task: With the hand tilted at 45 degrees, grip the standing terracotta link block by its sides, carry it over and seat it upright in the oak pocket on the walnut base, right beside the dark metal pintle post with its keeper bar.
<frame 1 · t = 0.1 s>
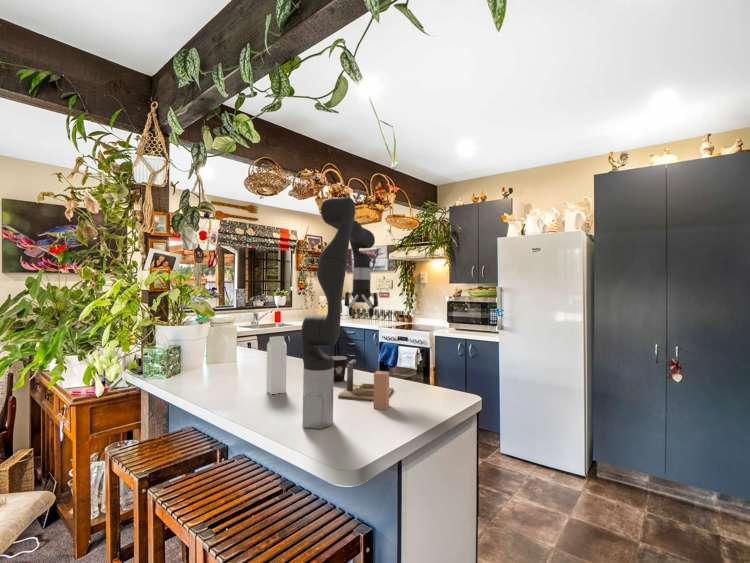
hand: (361, 316, 159), 29 cm above the countertop, tool pointing down, fingers open, 8 cm apart
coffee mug: (333, 380, 167), on the countertop
pintle seat: (366, 394, 146), on the countertop
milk: (276, 392, 148), on the countertop
link block: (381, 406, 132), on the countertop
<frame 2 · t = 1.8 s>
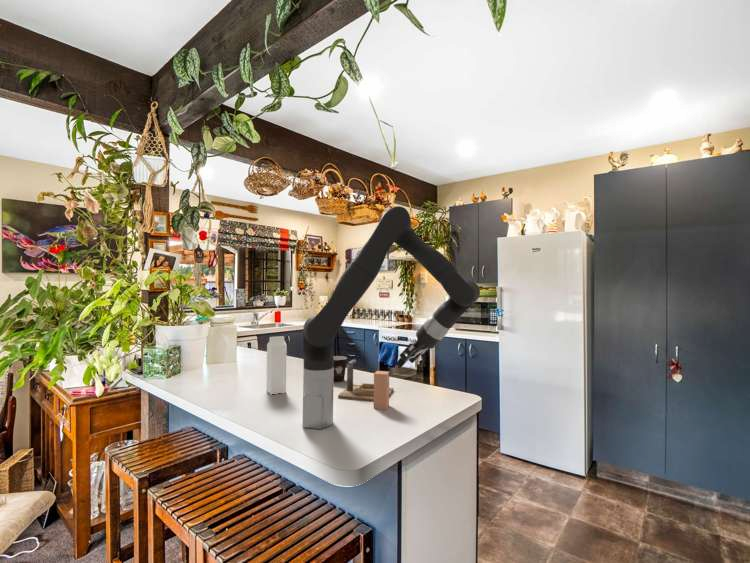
hand: (404, 363, 126), 16 cm above the countertop, tool tilted 40°, fingers open, 8 cm apart
nothing on the countertop moved.
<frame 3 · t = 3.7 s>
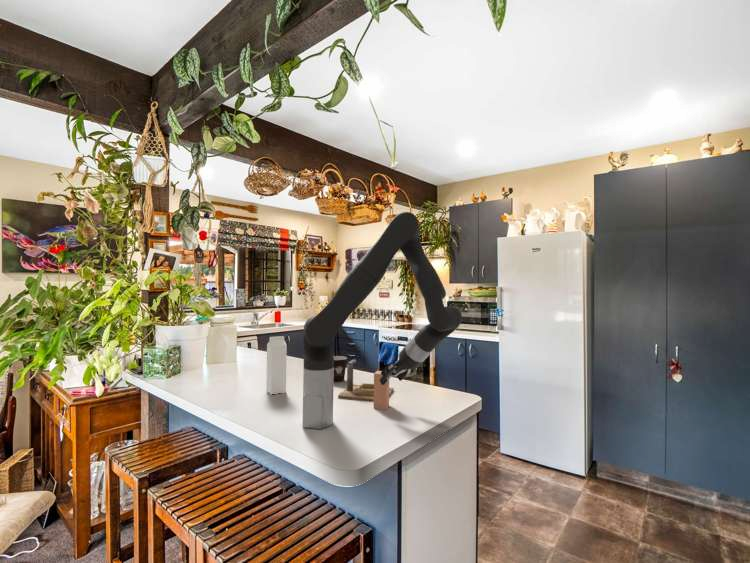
hand: (390, 380, 129), 10 cm above the countertop, tool tilted 45°, fingers open, 8 cm apart
nothing on the countertop moved.
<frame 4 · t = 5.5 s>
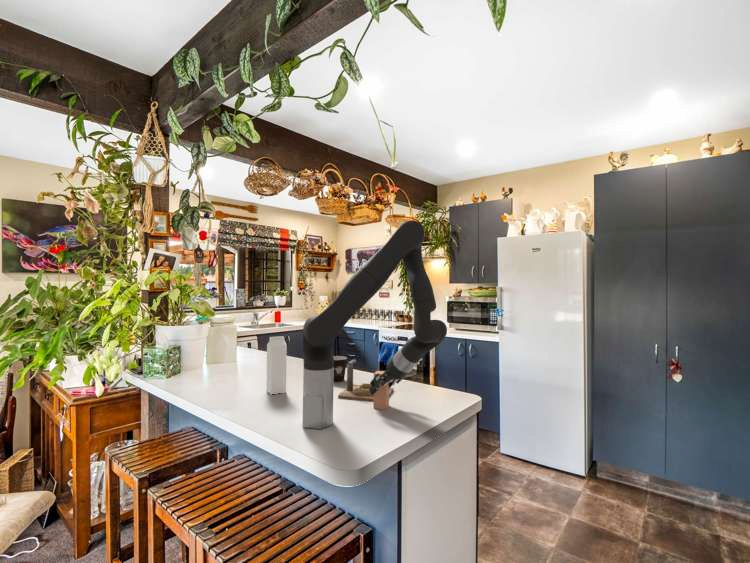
hand: (378, 390, 133), 5 cm above the countertop, tool tilted 45°, fingers closed on link block, 6 cm apart
link block: (381, 406, 132), on the countertop, touching gripper
everything else where it was.
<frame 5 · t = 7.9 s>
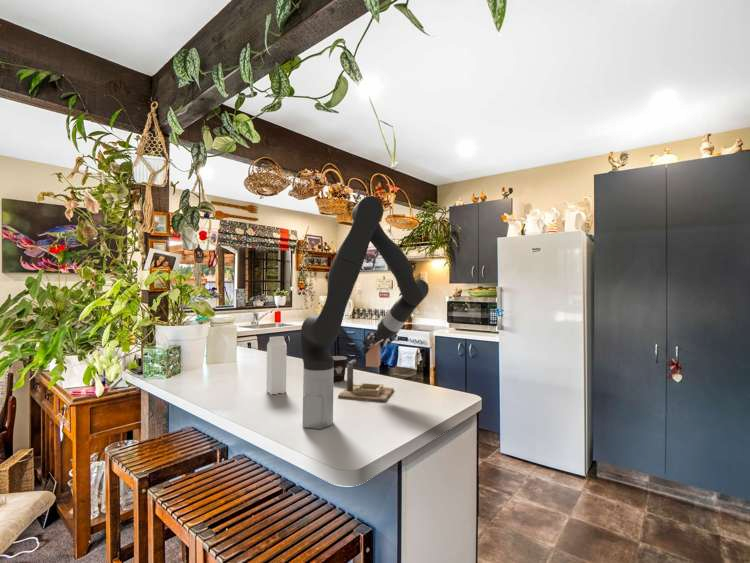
hand: (370, 351, 145), 17 cm above the countertop, tool tilted 45°, fingers closed on link block, 6 cm apart
link block: (373, 365, 144), point 12 cm above the countertop, touching gripper
everything else where it was.
when the fingers open (8 cm above the countertop, at t = 10.5 s): link block drops 1 cm, resting on pintle seat.
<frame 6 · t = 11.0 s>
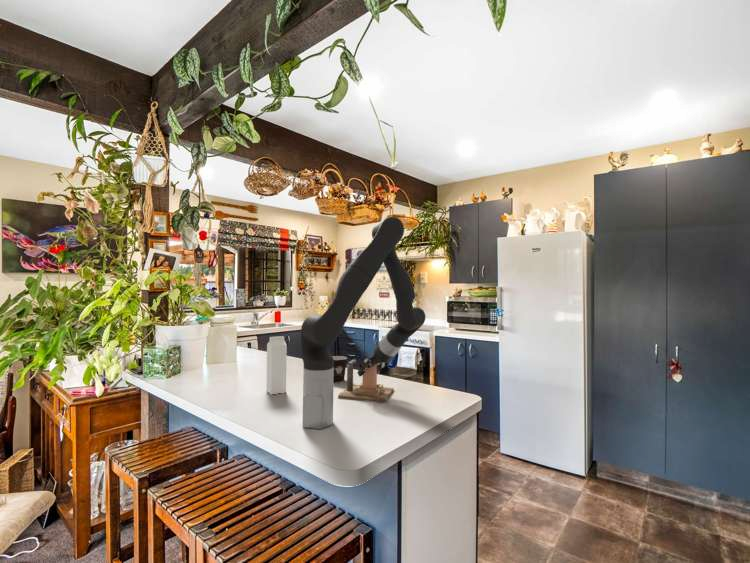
hand: (367, 372, 147), 8 cm above the countertop, tool tilted 45°, fingers open, 8 cm apart
link block: (369, 391, 146), point 1 cm above the countertop, touching pintle seat
everything else where it was.
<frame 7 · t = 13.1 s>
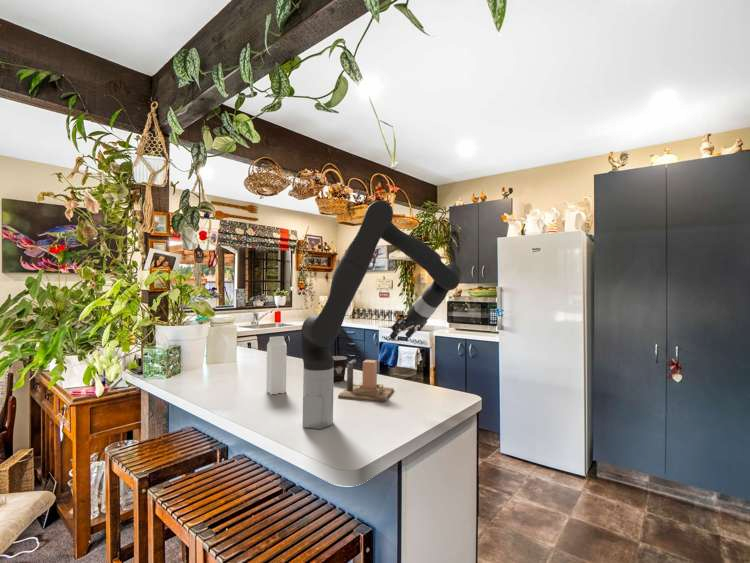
hand: (399, 337, 143), 23 cm above the countertop, tool tilted 45°, fingers open, 8 cm apart
nothing on the countertop moved.
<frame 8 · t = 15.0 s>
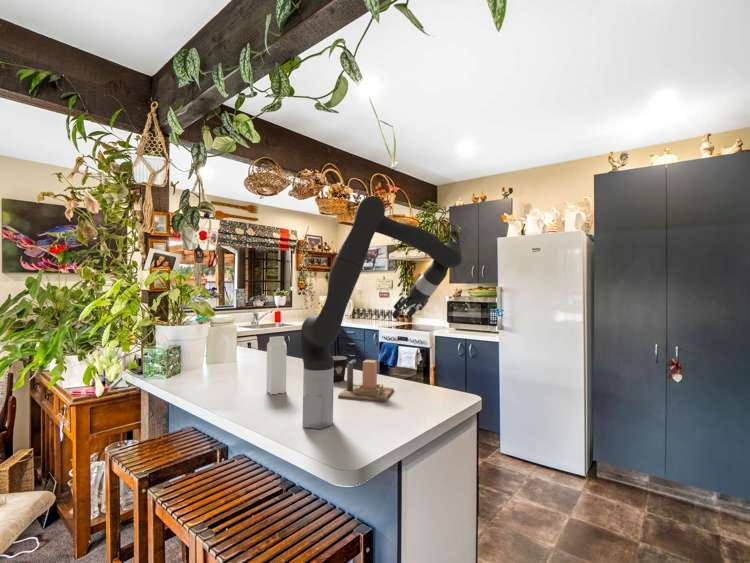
hand: (401, 316, 146), 31 cm above the countertop, tool tilted 45°, fingers open, 8 cm apart
nothing on the countertop moved.
at the end: link block 0.1 cm from the target spot on the pintle seat, point 1.0 cm above the pintle seat's base; link block tilted 0°; the gripper is holding nothing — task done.
